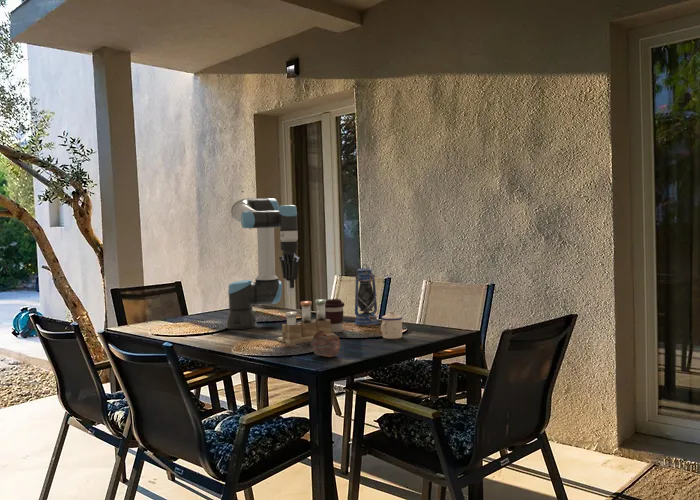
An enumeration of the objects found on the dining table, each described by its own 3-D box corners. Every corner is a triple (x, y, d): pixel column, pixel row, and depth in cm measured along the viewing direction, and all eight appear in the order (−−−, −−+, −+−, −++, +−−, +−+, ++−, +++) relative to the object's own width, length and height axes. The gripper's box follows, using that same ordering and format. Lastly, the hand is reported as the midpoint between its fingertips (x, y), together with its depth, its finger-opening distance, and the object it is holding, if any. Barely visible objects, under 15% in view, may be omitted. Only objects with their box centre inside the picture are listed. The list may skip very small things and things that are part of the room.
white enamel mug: (390, 334, 273) (390, 308, 272) (406, 336, 266) (406, 310, 266) (373, 338, 264) (372, 312, 263) (389, 341, 258) (389, 313, 257)
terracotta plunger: (298, 324, 268) (298, 302, 267) (308, 323, 271) (307, 300, 270) (305, 326, 264) (304, 303, 263) (314, 324, 267) (313, 301, 266)
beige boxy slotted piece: (277, 340, 265) (277, 323, 265) (320, 333, 279) (319, 317, 279) (293, 344, 256) (292, 327, 255) (335, 337, 270) (335, 320, 270)
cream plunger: (283, 335, 263) (283, 312, 262) (293, 334, 266) (292, 311, 265) (290, 337, 259) (289, 313, 258) (299, 335, 262) (299, 312, 262)
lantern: (368, 320, 315) (366, 262, 314) (385, 322, 306) (384, 263, 305) (347, 324, 304) (345, 264, 303) (364, 326, 295) (362, 265, 294)
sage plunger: (313, 322, 273) (312, 300, 272) (322, 321, 276) (321, 299, 275) (320, 323, 269) (319, 301, 268) (329, 322, 272) (328, 300, 271)
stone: (310, 356, 232) (309, 330, 232) (324, 352, 239) (323, 327, 238) (335, 359, 224) (334, 333, 224) (349, 355, 231) (348, 329, 231)
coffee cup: (342, 333, 279) (341, 301, 278) (321, 333, 281) (320, 301, 280) (347, 329, 289) (346, 298, 288) (326, 329, 291) (325, 298, 290)
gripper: (273, 241, 263) (275, 295, 264) (290, 241, 253) (291, 297, 254) (288, 240, 268) (289, 293, 269) (304, 240, 258) (306, 295, 259)
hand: (290, 295), depth 262 cm, fingers closed
